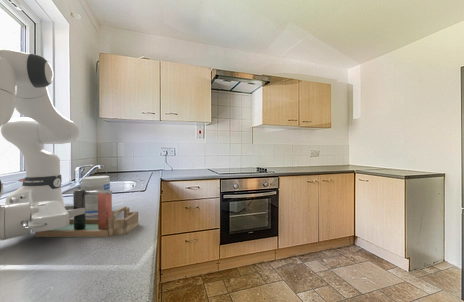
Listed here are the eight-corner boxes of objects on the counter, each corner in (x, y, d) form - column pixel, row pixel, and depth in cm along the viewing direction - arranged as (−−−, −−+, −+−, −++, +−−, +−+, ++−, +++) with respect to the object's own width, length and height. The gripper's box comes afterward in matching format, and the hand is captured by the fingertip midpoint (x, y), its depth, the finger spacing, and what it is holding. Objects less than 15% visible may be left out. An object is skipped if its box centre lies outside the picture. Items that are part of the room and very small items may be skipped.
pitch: (35, 239, 61) (35, 231, 61) (65, 225, 72) (65, 218, 72) (108, 239, 61) (107, 231, 61) (127, 225, 72) (127, 218, 72)
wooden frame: (108, 238, 61) (108, 214, 61) (127, 225, 72) (127, 204, 72) (123, 238, 61) (123, 214, 61) (139, 225, 72) (139, 204, 72)
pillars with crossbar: (71, 229, 65) (70, 191, 65) (78, 226, 68) (78, 189, 68) (108, 229, 65) (108, 191, 65) (114, 225, 68) (114, 189, 68)
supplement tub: (111, 215, 83) (110, 177, 83) (81, 219, 78) (80, 179, 78) (109, 209, 91) (108, 174, 91) (82, 212, 86) (81, 176, 86)
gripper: (21, 216, 50) (90, 205, 60) (21, 201, 64) (77, 193, 74) (21, 243, 50) (90, 227, 60) (21, 221, 65) (77, 211, 74)
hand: (83, 208), depth 67 cm, fingers closed on pillars with crossbar, 3 cm apart
